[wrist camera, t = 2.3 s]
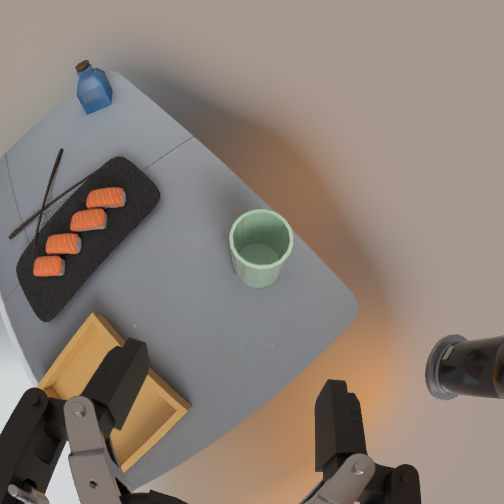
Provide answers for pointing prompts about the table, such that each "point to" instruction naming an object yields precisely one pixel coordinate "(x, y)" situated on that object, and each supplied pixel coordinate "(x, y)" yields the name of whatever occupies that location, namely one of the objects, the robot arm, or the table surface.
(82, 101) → the perfume bottle
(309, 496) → the robot arm
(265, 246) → the teacup
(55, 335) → the table surface
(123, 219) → the sushi plate
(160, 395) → the tray
